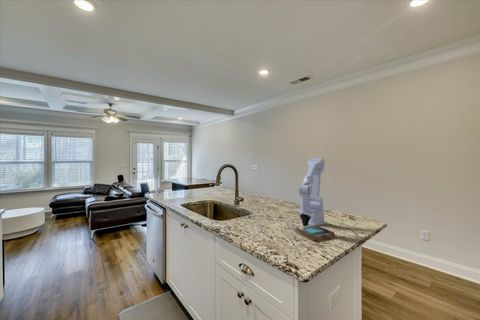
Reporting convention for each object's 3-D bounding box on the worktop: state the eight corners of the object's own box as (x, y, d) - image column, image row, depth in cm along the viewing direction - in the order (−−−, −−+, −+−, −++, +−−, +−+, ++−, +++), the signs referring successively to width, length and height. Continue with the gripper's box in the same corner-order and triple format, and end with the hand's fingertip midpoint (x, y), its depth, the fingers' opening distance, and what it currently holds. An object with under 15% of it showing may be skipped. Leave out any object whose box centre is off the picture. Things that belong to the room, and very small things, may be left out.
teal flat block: (314, 231, 124) (314, 224, 124) (324, 235, 117) (324, 228, 117) (302, 233, 120) (302, 226, 120) (311, 238, 113) (311, 231, 113)
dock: (314, 228, 128) (314, 224, 128) (334, 237, 114) (334, 232, 114) (295, 231, 122) (295, 227, 122) (313, 241, 108) (313, 236, 108)
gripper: (292, 202, 130) (292, 224, 130) (308, 207, 117) (308, 231, 117) (301, 201, 133) (301, 222, 133) (318, 206, 119) (318, 229, 120)
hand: (305, 226), depth 125 cm, fingers closed
